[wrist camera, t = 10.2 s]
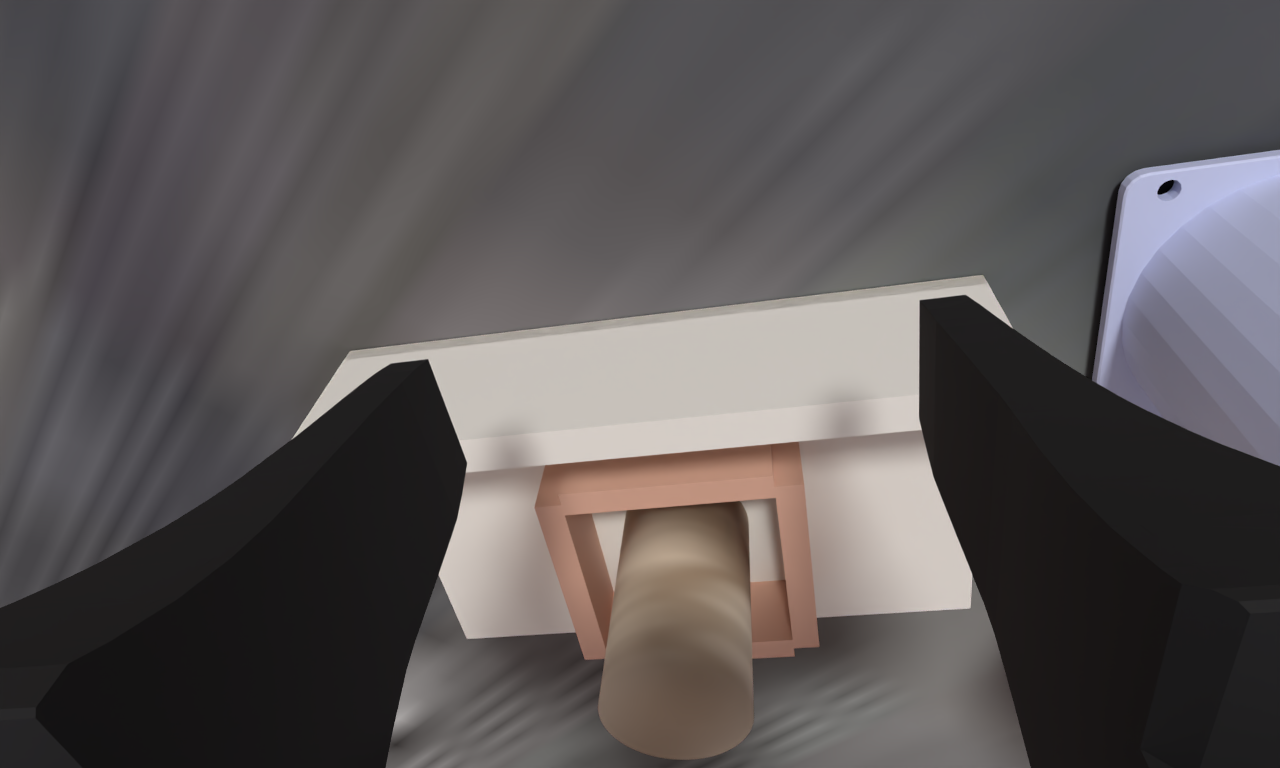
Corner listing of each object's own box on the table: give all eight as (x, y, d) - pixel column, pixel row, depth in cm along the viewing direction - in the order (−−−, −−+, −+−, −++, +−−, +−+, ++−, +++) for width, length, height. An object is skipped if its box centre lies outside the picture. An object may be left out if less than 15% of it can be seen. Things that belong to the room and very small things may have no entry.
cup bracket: (982, 274, 22) (1042, 382, 18) (966, 596, 29) (1007, 727, 25) (349, 351, 25) (279, 458, 21) (470, 628, 32) (434, 749, 28)
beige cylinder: (767, 497, 27) (778, 689, 21) (723, 580, 29) (721, 774, 23) (645, 462, 26) (622, 647, 21) (610, 548, 29) (580, 737, 23)
